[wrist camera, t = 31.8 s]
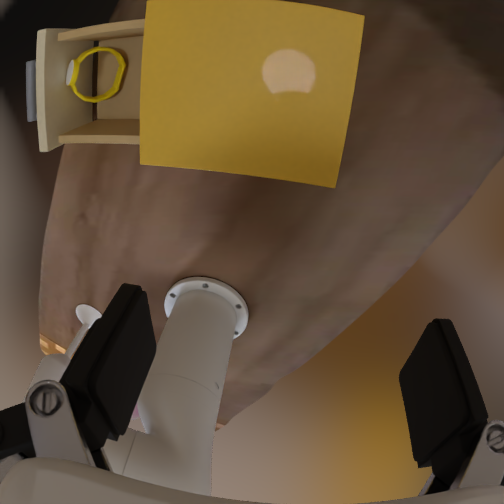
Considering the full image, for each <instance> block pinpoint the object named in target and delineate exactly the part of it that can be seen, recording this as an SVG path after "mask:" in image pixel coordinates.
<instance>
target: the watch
mask: <svg viewBox="0 0 504 504" xmlns="http://www.w3.org/2000/svg"><path fill="white" fill-rule="evenodd" d="M97 51H108V52H110V53H111V54H113V55H114V56H116V59H117V61H118V63H119V68H118V71H117V74H116V77H115V80H114V84H113V87H112V88H110V89H109V90H108V91H107V92H106V93H104V94H102V95H98V96H95V97H90V96H83V95H82V94H81V93H80V92H78V90H77V87H76V84H75V83H76V80H77V77H78V73H79V67H80V63H81V62H82V61H83V60H84V59H85V58H86V57H87V56H88V55H90V54H93V53H95V52H97ZM125 66H126V64H125V61H124V59H123V57H122V56H121V54H120V53H118V52H117V51H115V50H114V49H112V48H109V47H94V48H91V49H89V50H86V51H84V52H83V53H82V54H81V55H80V56H79V57H78V58H77V59H73V60H71V62H70V64H69V67H68V70H67V75H66V84H67V86H71V88H72V91H73V92H74V93H75V94H76V95H77V96H78V97H80V98H81V99H82V100H84V101H87V102H93V103H95V102H100V101H103V100H107V99H108V98H110V97H111V96H113V95H114V94H115V93H116V92H117V91H118V90H119V86H120V83H121V79H122V76H123V72H124V69H125Z"/></svg>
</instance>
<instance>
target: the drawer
mask: <svg viewBox="0 0 504 504" xmlns="http://www.w3.org/2000/svg"><path fill="white" fill-rule="evenodd" d="M144 25H145V19H137V20H128V21H121V22H113V23H107V24H101V25H96V26H90V27H84V28H80V29H43V30H40V31H38V34H37V52H36V60H33V61H29V62H27V63H26V95H27V116H28V121H35V120H37V122H38V136H39V147H40V152H48V151H50V150H52V149H54V148H56V147H58V146H60V145H62V144H64V143H117V144H140V86H141V65H142V49H143V36H144ZM94 41H99V47H109V48H112V49H114V50H115V51H117V52H118V53H120V54H121V56H122V57H123V59H124V61H125V64H126V66H125V69H124V72H123V76H122V79H121V83H120V86H119V90H118V91H117V92H116V93H115V94H114V95H113V96H111V97H110V98H108V99H107V100H103V101H100V102H97V119H98V120H95V121H93V119H92V102H87V101H84V100H82V99H81V98H80V97H78V96H77V95H76V94H75V93H74V92H73V91H72V88H71V86H67V84H66V75H67V70H68V67H69V64H70V62H71V60H73V59H77V58H78V57H79V56H80V55H81V54H82V53H83V52H84V51H86V50H89V49H91V48H94ZM118 68H119V63H118V61H117V59H116V56H114V55H113V54H111V53H110V52H108V51H98V77H97V96H98V95H102V94H104V93H106V92H107V91H108V90H109V89H110V88H112V87H113V84H114V80H115V77H116V74H117V71H118ZM92 71H93V54H90V55H88V56H87V57H86V58H85V59H84V60H83V61H82V62H81V63H80V67H79V73H78V77H77V80H76V83H75V84H76V87H77V90H78V92H80V93H81V94H82V95H83V96H90V97H92Z"/></svg>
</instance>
